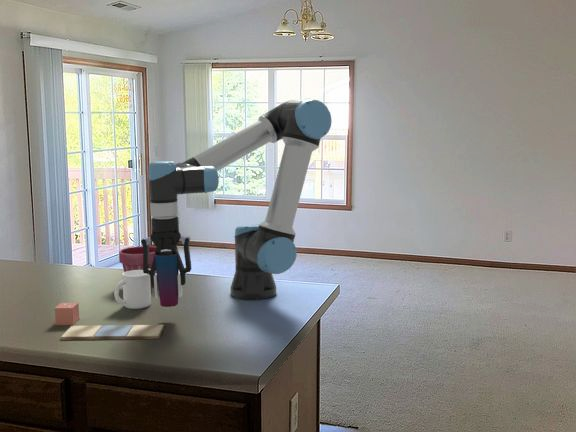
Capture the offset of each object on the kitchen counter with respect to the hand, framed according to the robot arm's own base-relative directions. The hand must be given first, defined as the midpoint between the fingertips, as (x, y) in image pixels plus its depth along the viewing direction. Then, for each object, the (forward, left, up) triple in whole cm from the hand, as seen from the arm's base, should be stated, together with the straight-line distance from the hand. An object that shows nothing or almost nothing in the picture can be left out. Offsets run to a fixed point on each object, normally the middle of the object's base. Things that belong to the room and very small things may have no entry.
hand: (168, 296), depth 176 cm
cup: (0, 0, -3) cm, 3 cm away
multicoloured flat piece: (+13, +11, -7) cm, 19 cm away
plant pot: (+15, -37, -7) cm, 41 cm away
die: (+29, +1, -7) cm, 30 cm away
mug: (+13, -13, -7) cm, 20 cm away
